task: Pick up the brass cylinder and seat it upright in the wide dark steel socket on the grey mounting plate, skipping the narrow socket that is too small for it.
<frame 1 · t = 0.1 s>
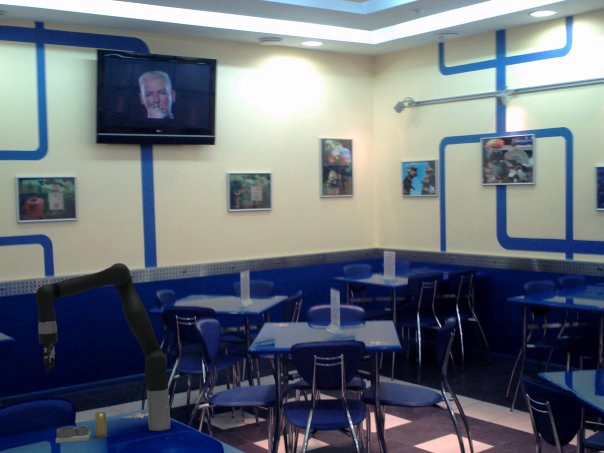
hand: (49, 369, 330), 29 cm above the table, tool pointing down, fingers open, 8 cm apart
brass cylinder: (101, 436, 328), on the table
grey mounting plate: (73, 438, 326), on the table
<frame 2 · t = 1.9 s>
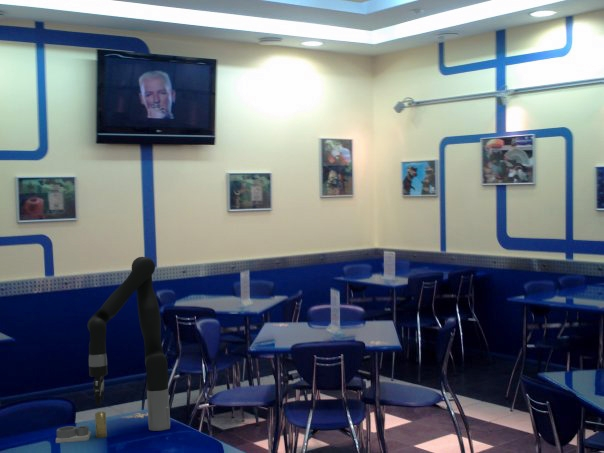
hand: (99, 402, 328), 14 cm above the table, tool pointing down, fingers open, 8 cm apart
nothing on the table moved.
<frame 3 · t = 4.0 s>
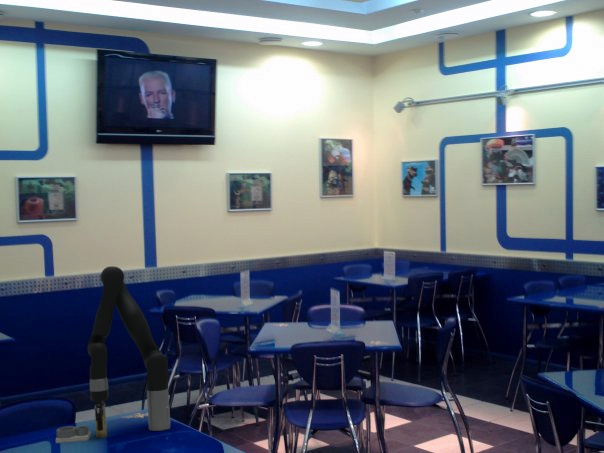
hand: (101, 428, 328), 3 cm above the table, tool pointing down, fingers closed on brass cylinder, 4 cm apart
brass cylinder: (101, 436, 328), on the table, touching gripper
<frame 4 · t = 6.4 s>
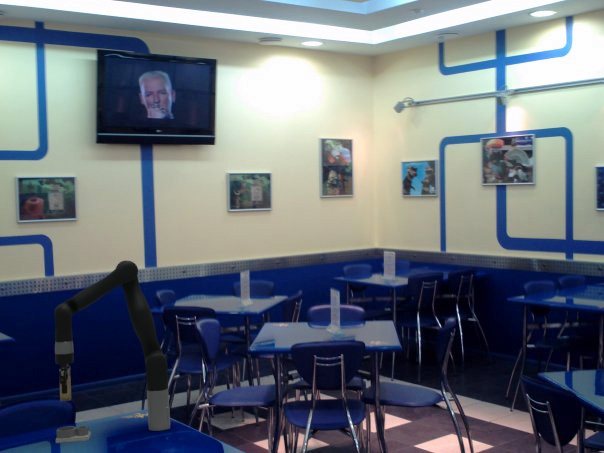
hand: (65, 392, 326), 20 cm above the table, tool pointing down, fingers closed on brass cylinder, 4 cm apart
brass cylinder: (65, 400, 326), point 17 cm above the table, touching gripper
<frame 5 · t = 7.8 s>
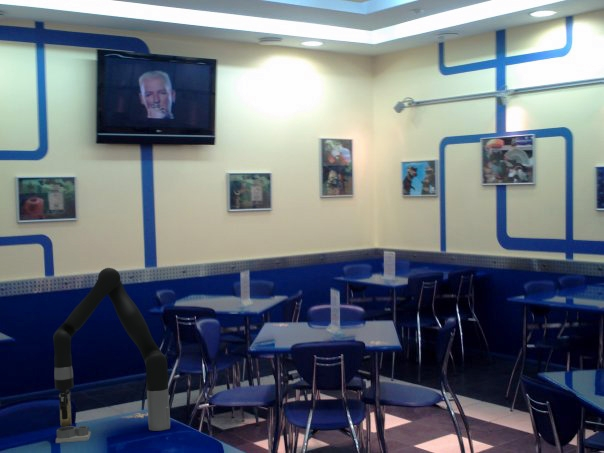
hand: (65, 417, 326), 9 cm above the table, tool pointing down, fingers closed on brass cylinder, 4 cm apart
brass cylinder: (66, 425, 326), point 6 cm above the table, touching gripper
when the fingers open (6 cm above the table, at t = 8.9 s): brass cylinder stays where it is, resting on grey mounting plate.
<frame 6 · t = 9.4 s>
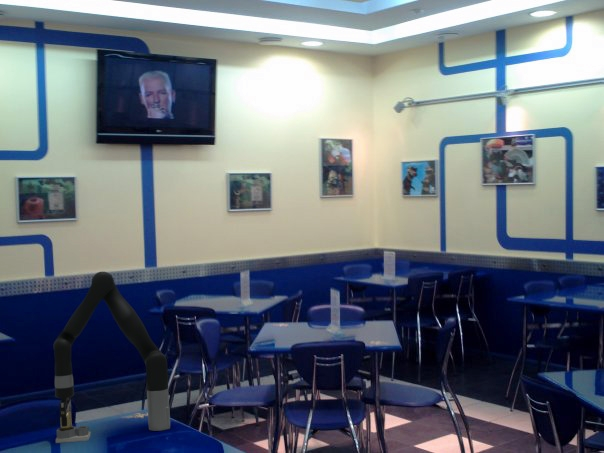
hand: (66, 423, 326), 7 cm above the table, tool pointing down, fingers open, 8 cm apart
brass cylinder: (66, 435, 326), point 1 cm above the table, touching grey mounting plate
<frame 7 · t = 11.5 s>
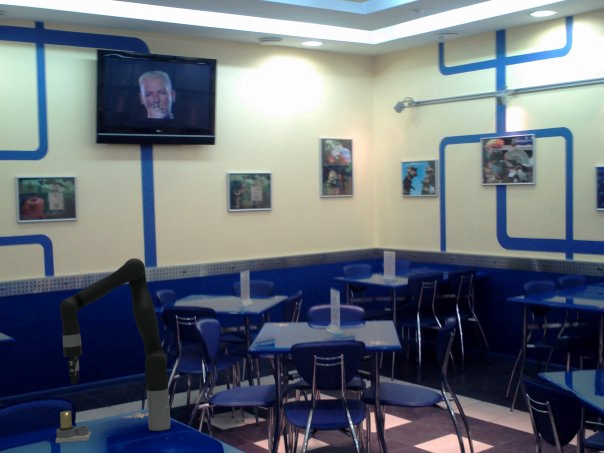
hand: (75, 382, 331), 23 cm above the table, tool pointing down, fingers open, 8 cm apart
nothing on the table moved.
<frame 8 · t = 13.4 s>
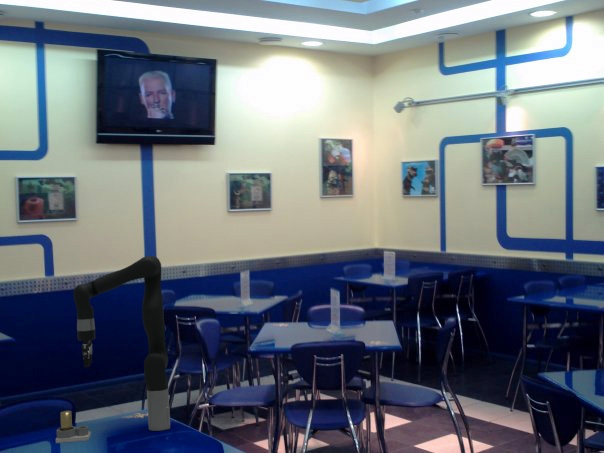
hand: (88, 365, 341), 28 cm above the table, tool pointing down, fingers open, 8 cm apart
nothing on the table moved.
at the end: brass cylinder 0.0 cm from the target spot on the grey mounting plate, point 1.5 cm above the grey mounting plate's base; brass cylinder tilted 1°; the gripper is holding nothing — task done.
